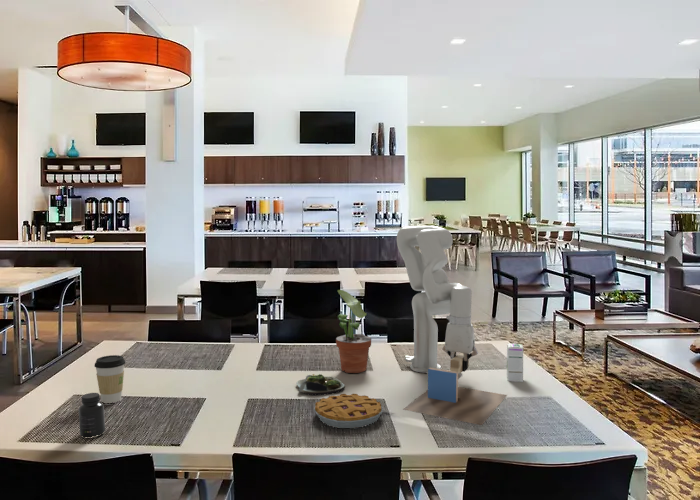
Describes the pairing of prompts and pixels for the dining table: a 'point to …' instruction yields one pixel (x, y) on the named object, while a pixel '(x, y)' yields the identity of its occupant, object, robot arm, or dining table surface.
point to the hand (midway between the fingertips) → (459, 369)
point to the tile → (443, 385)
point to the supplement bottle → (91, 415)
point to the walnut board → (459, 405)
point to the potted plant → (352, 338)
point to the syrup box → (515, 362)
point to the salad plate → (320, 385)
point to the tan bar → (457, 364)
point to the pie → (348, 410)
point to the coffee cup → (110, 377)
